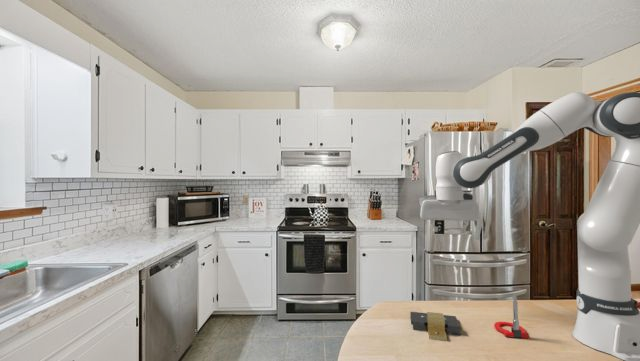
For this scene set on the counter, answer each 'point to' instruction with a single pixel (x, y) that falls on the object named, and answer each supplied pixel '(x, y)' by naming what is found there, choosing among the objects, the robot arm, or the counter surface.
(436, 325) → the loose leaf
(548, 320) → the counter surface
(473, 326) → the counter surface
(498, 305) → the counter surface
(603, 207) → the robot arm
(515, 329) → the tow hook
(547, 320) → the counter surface
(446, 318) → the fixed leaf
